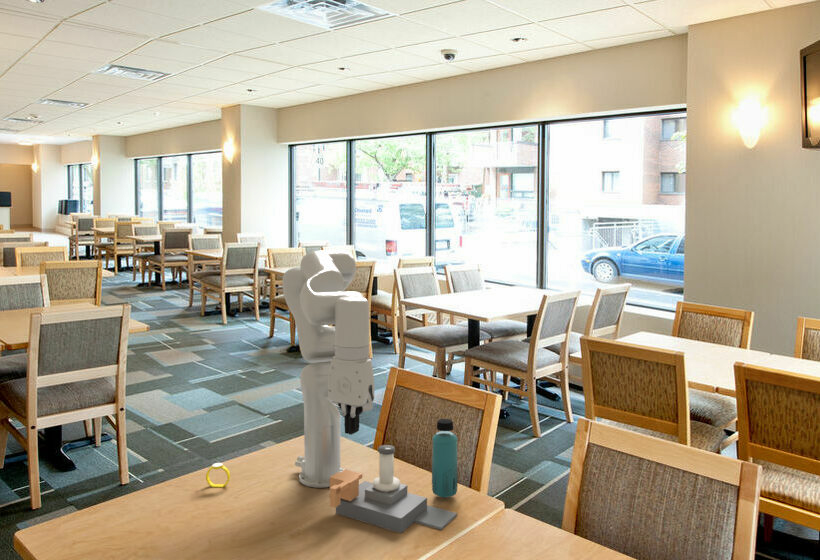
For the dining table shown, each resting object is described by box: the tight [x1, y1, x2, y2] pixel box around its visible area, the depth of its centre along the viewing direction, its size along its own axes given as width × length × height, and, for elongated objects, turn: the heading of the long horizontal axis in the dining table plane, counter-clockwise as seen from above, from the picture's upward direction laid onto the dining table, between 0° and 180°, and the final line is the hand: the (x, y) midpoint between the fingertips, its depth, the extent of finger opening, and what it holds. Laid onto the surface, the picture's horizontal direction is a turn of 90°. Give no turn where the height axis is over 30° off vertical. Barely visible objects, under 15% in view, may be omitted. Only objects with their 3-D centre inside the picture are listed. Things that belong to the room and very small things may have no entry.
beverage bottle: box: [431, 418, 459, 498], centre depth 159 cm, size 6×7×20 cm
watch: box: [205, 462, 231, 488], centre depth 165 cm, size 6×3×6 cm, turn 89°
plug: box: [372, 444, 401, 494], centre depth 152 cm, size 6×6×12 cm
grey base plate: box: [335, 480, 428, 534], centre depth 151 cm, size 18×12×6 cm, turn 60°
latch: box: [329, 469, 363, 509], centre depth 150 cm, size 6×11×5 cm, turn 150°
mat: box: [414, 504, 458, 531], centre depth 149 cm, size 8×8×1 cm
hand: (351, 432), depth 143 cm, fingers closed
